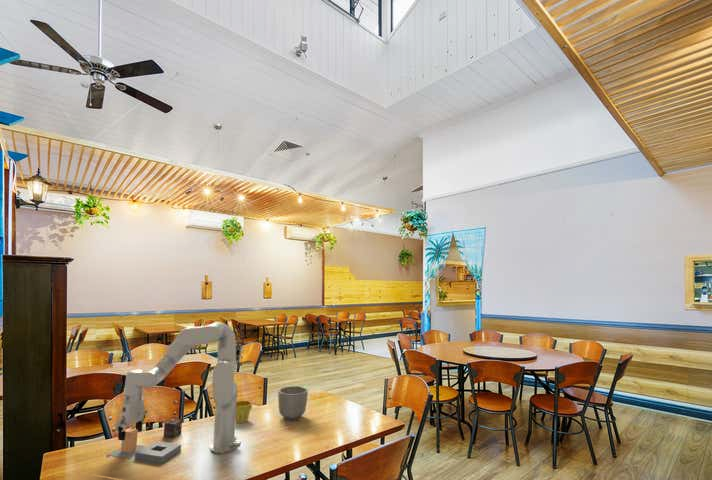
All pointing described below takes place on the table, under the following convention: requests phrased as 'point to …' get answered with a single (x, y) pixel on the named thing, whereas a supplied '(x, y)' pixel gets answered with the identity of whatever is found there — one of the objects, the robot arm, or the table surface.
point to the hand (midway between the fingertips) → (130, 435)
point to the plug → (129, 441)
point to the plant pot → (242, 411)
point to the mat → (124, 454)
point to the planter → (292, 402)
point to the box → (172, 428)
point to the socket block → (158, 452)
